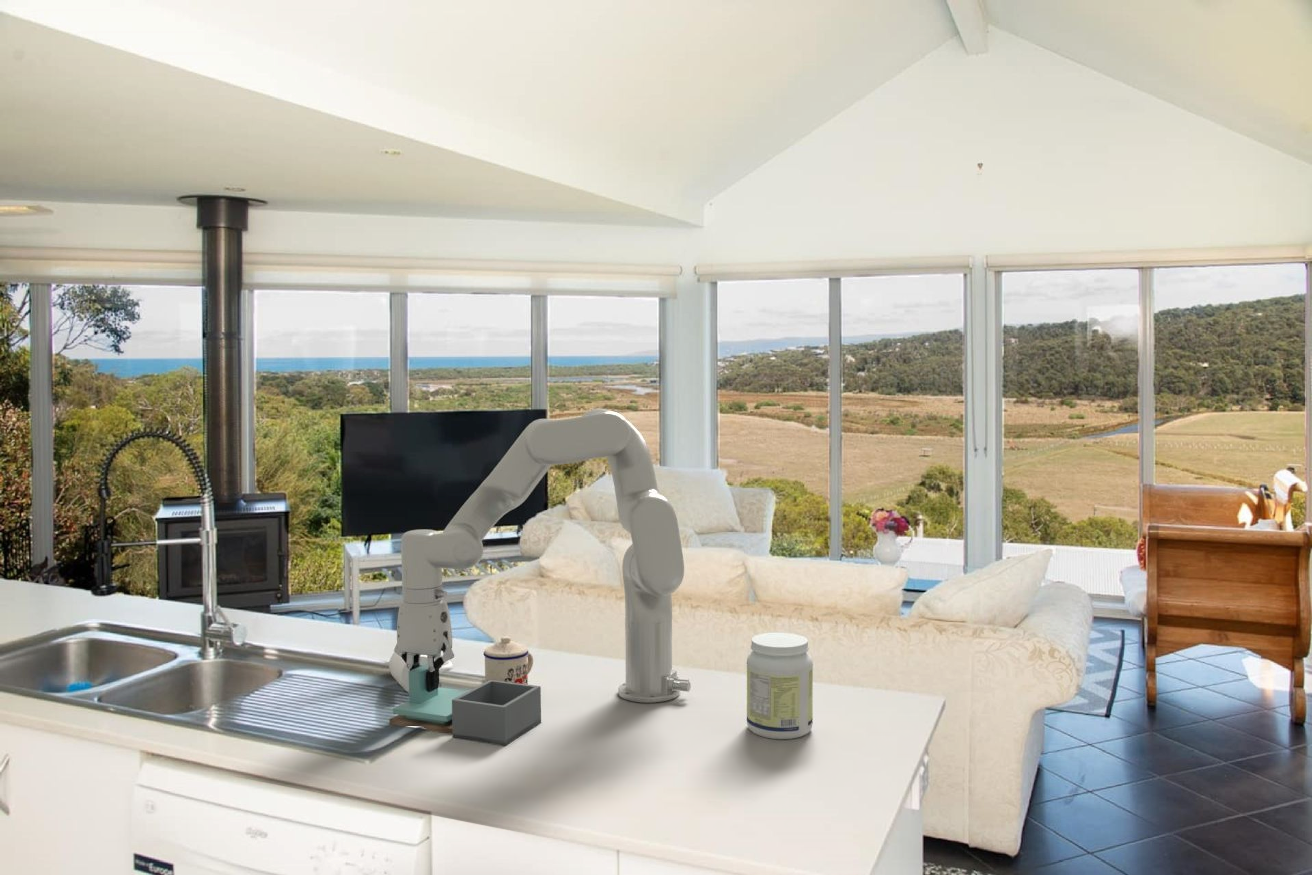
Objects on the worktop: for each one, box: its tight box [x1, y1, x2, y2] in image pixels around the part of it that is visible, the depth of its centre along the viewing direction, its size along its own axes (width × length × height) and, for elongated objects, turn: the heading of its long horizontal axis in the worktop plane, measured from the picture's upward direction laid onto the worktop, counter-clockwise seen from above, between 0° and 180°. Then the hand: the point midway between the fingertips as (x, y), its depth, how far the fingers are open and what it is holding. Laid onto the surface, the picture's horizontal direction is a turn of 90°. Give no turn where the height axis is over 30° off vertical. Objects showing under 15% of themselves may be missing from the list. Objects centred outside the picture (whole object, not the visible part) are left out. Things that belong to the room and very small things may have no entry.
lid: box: [392, 663, 469, 724], centre depth 201 cm, size 12×14×8 cm
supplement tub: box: [746, 632, 814, 740], centre depth 193 cm, size 12×12×17 cm
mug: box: [388, 651, 453, 693], centre depth 220 cm, size 12×10×8 cm
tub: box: [451, 680, 542, 747], centre depth 194 cm, size 11×13×7 cm
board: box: [389, 714, 453, 735], centre depth 201 cm, size 14×14×1 cm
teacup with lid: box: [483, 635, 534, 685], centre depth 217 cm, size 12×9×12 cm
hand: (424, 687), depth 202 cm, fingers open, 3 cm apart
